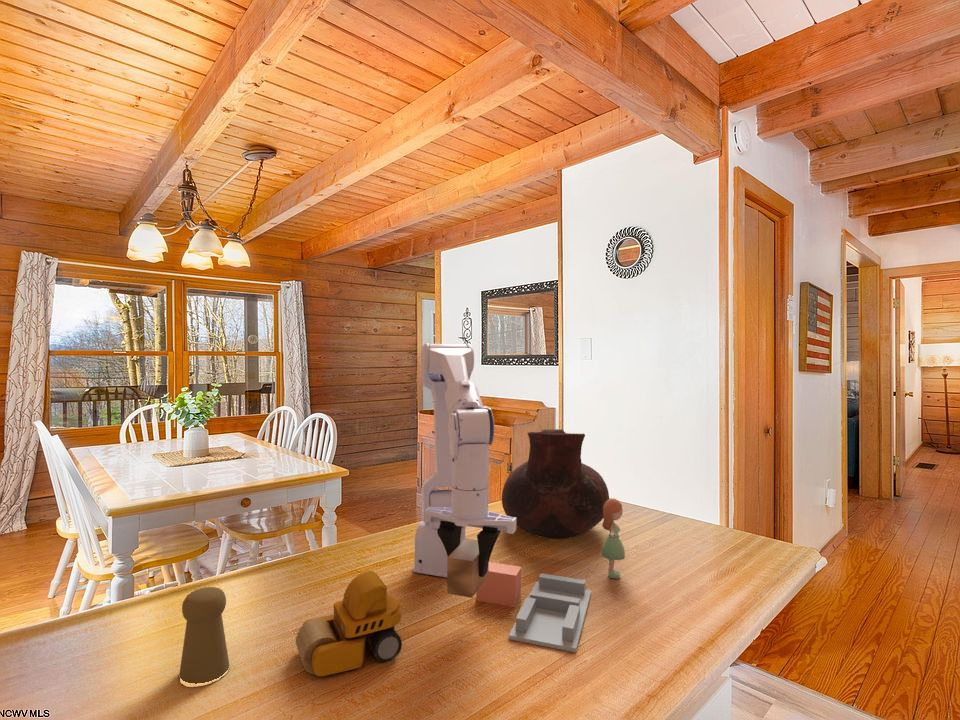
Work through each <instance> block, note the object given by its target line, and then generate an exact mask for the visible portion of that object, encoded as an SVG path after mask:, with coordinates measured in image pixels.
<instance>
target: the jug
mask: <svg viewBox="0 0 960 720" xmlns="http://www.w3.org/2000/svg"><path fill="white" fill-rule="evenodd" d="M527 435H528V436H527V437H528V440H529V454H528V458H527V461H525V462H523V463H522V464H520V465H519V466H518V467H516V468H514V470H512V471H511V473H509V475H508V477H507V478H506V480H505V483H504V484H503V487H502V493H501V504H502V509H503V511H504V513H505V514H504V515H505V516H510V517H516V527H518V528H519V529H521V530H522V531H524V532H526V533H527V534H530V535H533V536H535V537H539V538H544V539H551V540H566V539H571V538H575V537H579V536H581V535H584V534H585V533H587V532H589V531H590V530H592V529H594V527H595V528H596V526H597V525H599V523H600V522H601V521H602V520H604V518H603V506H604V504H605V502H606V501H607V500H608V499H610V495H609V494H610V493H609V489H608V485H607V484H606V481H605V480H604V478H603V476H602V475H601V473H599V472H597V470H595V469H594V468H593V467H591V466H589V465H587V464H585V463H583V462H582V446H583V442H584V439H585V437H586V435H585V433H570V432H569V433H568V432H566V431H565V430H564V429H559V428H556V429H552V428H551V429H542V430H541V431H528V432H527Z"/></svg>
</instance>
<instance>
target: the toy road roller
mask: <svg viewBox="0 0 960 720" xmlns="http://www.w3.org/2000/svg"><path fill="white" fill-rule="evenodd" d="M387 592H388V588H387V585H386V584H385V582H384V581H383V580H382V579H381V578H380V576H379V575H378V574H377V573H376V572H375V571H372V570H370V571H365V572H362V573H360V574H358V575H357V576H355V577H354V578H353V579H352V580H351V581H350V582H349V583H348V585H347V587H346V589H345V591H344V594H343V598H342V600H338V601H336V602H334V603H333V614H330V615H326V616H325V615H324V616H320V617H315V618H314V617H313V618H310V619H307V620H305V621H304V622H303V624H302V626H301V627H300V628H299V629H298V631H297V633H296V636H295V637H296V638H295V645H296V648H297V651H298V654H299V657H300V660H301V663H302V665H303V668H304V669H305V671H306V672H307V673H309V674H310V675H315V676H317V677H326V676H330V675H334V674H339V673H342V672H347V671H351V670H355V669H359V668H361V667H362V666H363V663H364V662H365V653H366V642H367V643H368V645H369V646H370V649H371V650H370V651H371V653H372V654H373V656H374V658H375V659H376V660H377V661H378V662H379V663H388V662H391V661H393V660H395V659H396V658H397V657H398V656H399V654H400V652H401V650H402V647H403V642H402V641H403V640H402V638H401V636H400V634H399V633H398V632H397V631H396V630H395V626H397V625H398V624H399V623H400V622H401V621H402V618H403V613H402V612H403V605H402V603H401V601H399V599H397V598H396V597H394V596H393V595H391V594H388V593H387Z"/></svg>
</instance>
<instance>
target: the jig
mask: <svg viewBox="0 0 960 720" xmlns="http://www.w3.org/2000/svg"><path fill="white" fill-rule="evenodd" d="M591 596H592V590H591V589H587V588H586V579H579V578H573V577H567V576H561V575H554V574H549V573H542V572H541V573H540V574H539V577H538V581H535V583H534V585H533V587H532V589H531V591H530V593H529V595H528V597H526V598H525V600H524V602H523V603H522V605H521V607H520V609H519V611H518V613H517V615H516V616H515V623H514V624H513V626H512V628H511V630H510V633H508V634H509V635H508V640H510V641H516V642H521V643H526V644H531V645H535V646H536V645H537V646H541V647H546V648H551V649H555V650H561V651H562V650H563V651H566V652H572V653H577V650H578V646H579V641H580V638H581V634H582V630H583V627H584V623H585V619H586V615H587V613H588V612H587V611H588V609H589V604H590V600H591Z"/></svg>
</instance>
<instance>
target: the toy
mask: <svg viewBox="0 0 960 720" xmlns="http://www.w3.org/2000/svg"><path fill="white" fill-rule="evenodd" d="M622 516H623V505H622V503H621V502H620V500H618V499H616V498H615V497H614V498H609V499H608V500H607V501H606V502H605V504H604V506H603V522H602V528H603V529H604V530H606V531H609V533H608V536H607V537H606V539H605V541H604V543H603V544H602V547H601V548H602V549H601V552H600V553H601V557H603V558H604V559H607V560H608V561H609V562H608V572H607V573H608V577H609V578H611V579H621V572H620V571H619V570H615V569H614V567H615V561H621V560H624V559H625V557H626V556H625V552H626V551H625V548H624V545H623V543H622V541H621V539H620V535H619V533H620V532H621V528H620V526H619V525H618V524H617V523H615V522H614V521H619V520H620V519H621V517H622Z"/></svg>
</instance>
